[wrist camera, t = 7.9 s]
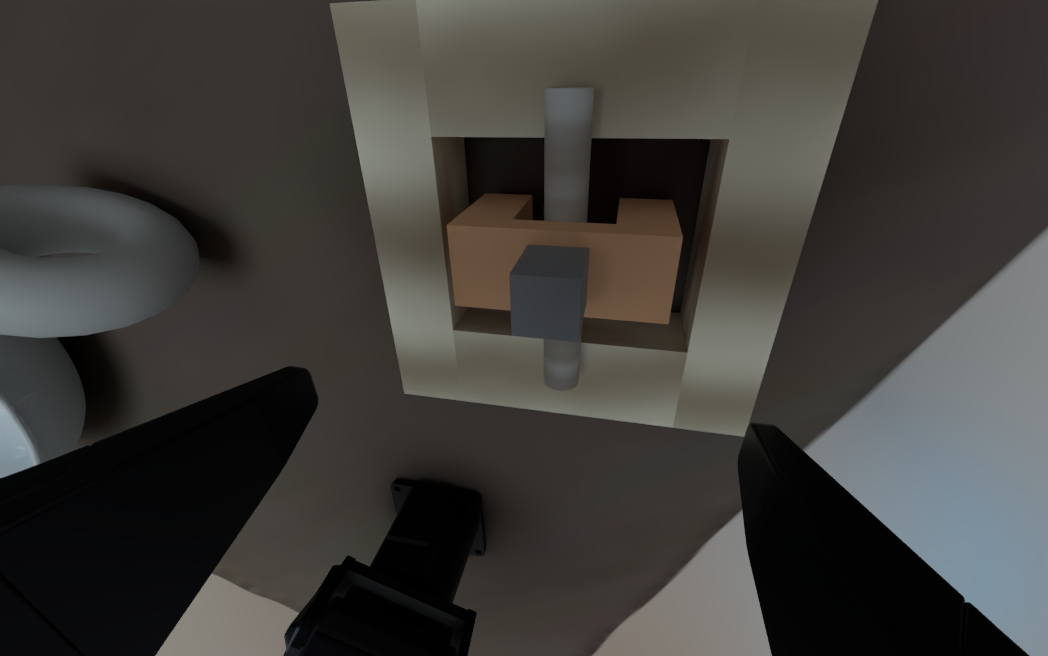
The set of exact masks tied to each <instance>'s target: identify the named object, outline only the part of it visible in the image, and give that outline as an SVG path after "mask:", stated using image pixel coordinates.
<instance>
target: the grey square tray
mask: <svg viewBox="0 0 1048 656" xmlns="http://www.w3.org/2000/svg"><path fill="white" fill-rule="evenodd" d="M877 3H878V0H380V1H362V2H344V3H330V8H331V13H332V18H333V24H334V29H335V34H336V39H337V44H338V50H339V55H340V60H341V65H342V70H343V76H344V81H345V86H346V91H347V97H348V102H349V107H350V112H351V117H352V123H353V128H354V133H355V138H356V143H357V149H358V154H359V159H360V164H361V170H362V175H363V180H364V185H365V190H366V196H367V201H368V206H369V211H370V216H371V222H372V227H373V232H374V237H375V243H376V248H377V253H378V258H379V263H380V269H381V274H382V279H383V284H384V289H385V295H386V300H387V305H388V310H389V316H390V321H391V326H392V331H393V336H394V342H395V347H396V352H397V357H398V362H399V368H400V373H401V378H402V383H403V389H404V393H405V394H413V395H421V396H428V397H436V398H444V399H452V400H460V401H468V402H476V403H483V404H491V405H499V406H507V407H515V408H523V409H531V410H538V411H546V412H554V413H562V414H570V415H578V416H586V417H593V418H601V419H609V420H617V421H625V422H633V423H641V424H648V425H656V426H664V427H672V428H680V429H688V430H696V431H703V432H711V433H719V434H727V435H735V436H743V437H744V436H745V432H746V429H747V427H748V424H749V421H750V417H751V414H752V411H753V408H754V404H755V401H756V398H757V394H758V391H759V388H760V385H761V381H762V378H763V375H764V372H765V368H766V365H767V362H768V359H769V355H770V352H771V349H772V346H773V342H774V339H775V336H776V333H777V329H778V326H779V323H780V319H781V316H782V313H783V310H784V306H785V303H786V300H787V297H788V293H789V290H790V287H791V284H792V280H793V277H794V274H795V271H796V267H797V264H798V261H799V257H800V254H801V251H802V248H803V244H804V241H805V238H806V235H807V231H808V228H809V225H810V222H811V218H812V215H813V212H814V209H815V205H816V202H817V199H818V195H819V192H820V189H821V186H822V182H823V179H824V176H825V173H826V169H827V166H828V163H829V160H830V156H831V153H832V150H833V147H834V143H835V140H836V137H837V134H838V130H839V127H840V124H841V120H842V117H843V114H844V111H845V107H846V104H847V101H848V98H849V94H850V91H851V88H852V85H853V81H854V78H855V75H856V72H857V68H858V65H859V62H860V58H861V55H862V52H863V49H864V45H865V42H866V39H867V36H868V32H869V29H870V26H871V23H872V19H873V16H874V13H875V10H876V6H877ZM464 137H517V138H544V221H559V222H581V223H587V213H588V195H589V176H590V157H591V138H644V139H711V141H710V147H709V152H708V158H707V164H706V169H705V175H704V181H703V186H702V192H701V198H700V203H699V209H698V214H697V220H696V226H695V231H694V237H693V243H692V248H691V254H690V260H689V265H688V271H687V277H686V282H685V288H684V294H683V299H682V305H681V311H680V313H677V312H671V313H670V319H669V324H657V323H646V322H635V321H623V320H612V319H600V318H589V317H583V322H582V327H581V331H580V336H579V341H578V342H569V341H559V340H549V339H538V338H528V337H518V336H512V335H511V311H509V310H498V309H486V308H475V307H463V306H455V301H454V291H453V282H452V272H451V263H450V253H449V244H448V234H447V224H449V223H450V222H451V221H452V220H453V219H455V218H456V217H457V216H458V215H460V214H461V213H462V212H463V211H464V210H466V209H467V208H468V207H469V195H468V182H467V170H466V157H465V144H464Z"/></svg>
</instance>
